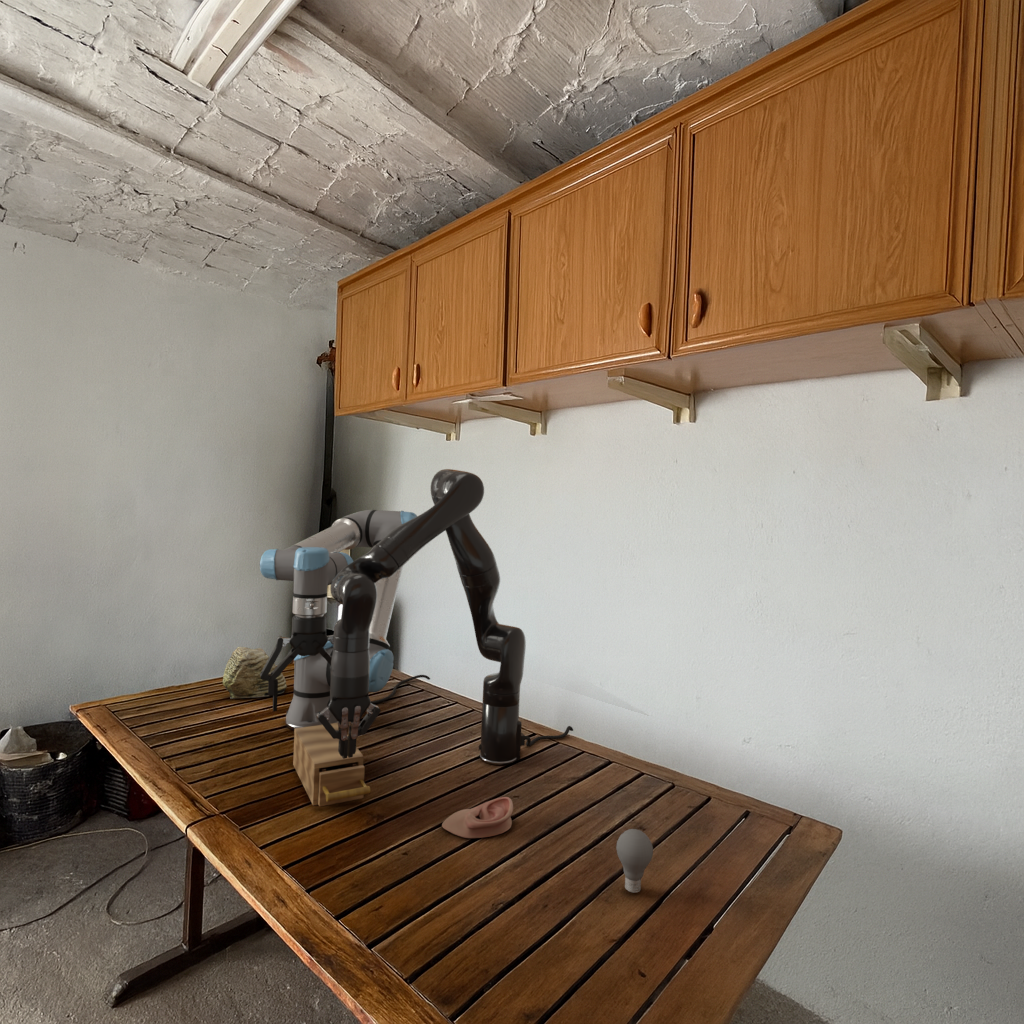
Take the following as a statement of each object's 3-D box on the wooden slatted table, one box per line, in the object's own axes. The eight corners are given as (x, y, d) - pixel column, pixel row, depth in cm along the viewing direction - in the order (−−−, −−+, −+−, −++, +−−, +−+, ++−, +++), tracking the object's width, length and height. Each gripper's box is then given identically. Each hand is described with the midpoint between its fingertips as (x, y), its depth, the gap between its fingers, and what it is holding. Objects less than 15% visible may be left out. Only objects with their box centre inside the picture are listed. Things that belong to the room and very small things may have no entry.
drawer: (371, 809, 127) (372, 777, 127) (325, 819, 123) (326, 785, 123) (339, 760, 150) (340, 733, 149) (299, 767, 145) (300, 739, 145)
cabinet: (361, 796, 135) (363, 756, 135) (312, 805, 130) (314, 764, 130) (336, 757, 154) (338, 722, 154) (293, 764, 149) (294, 728, 149)
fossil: (218, 695, 195) (220, 647, 195) (278, 685, 208) (279, 640, 207) (228, 703, 189) (230, 653, 188) (289, 692, 201) (290, 645, 201)
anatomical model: (437, 813, 121) (454, 787, 132) (436, 833, 121) (454, 805, 132) (505, 823, 118) (517, 795, 129) (504, 844, 118) (516, 815, 129)
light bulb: (610, 879, 108) (613, 822, 108) (644, 879, 109) (647, 822, 109) (619, 902, 102) (622, 840, 102) (655, 901, 103) (658, 840, 103)
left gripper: (251, 619, 137) (248, 717, 137) (367, 615, 147) (363, 706, 148) (250, 613, 144) (247, 706, 144) (361, 610, 154) (357, 696, 154)
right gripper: (320, 679, 120) (317, 769, 121) (388, 672, 127) (384, 758, 127) (312, 669, 127) (308, 754, 127) (377, 663, 133) (373, 744, 134)
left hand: (306, 706), depth 146 cm, fingers open, 13 cm apart
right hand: (346, 756), depth 127 cm, fingers closed
